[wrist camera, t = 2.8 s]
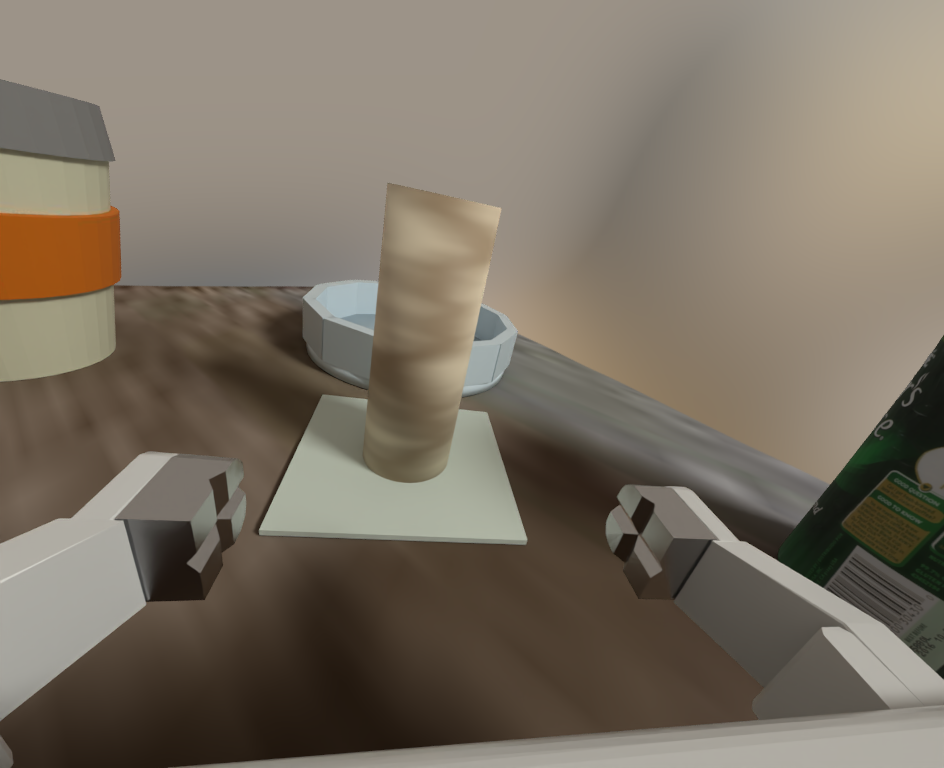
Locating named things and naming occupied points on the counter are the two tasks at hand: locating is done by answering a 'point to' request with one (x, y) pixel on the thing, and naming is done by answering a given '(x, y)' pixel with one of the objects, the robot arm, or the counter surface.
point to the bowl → (352, 329)
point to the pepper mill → (424, 328)
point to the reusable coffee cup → (55, 235)
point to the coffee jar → (887, 521)
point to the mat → (393, 487)
